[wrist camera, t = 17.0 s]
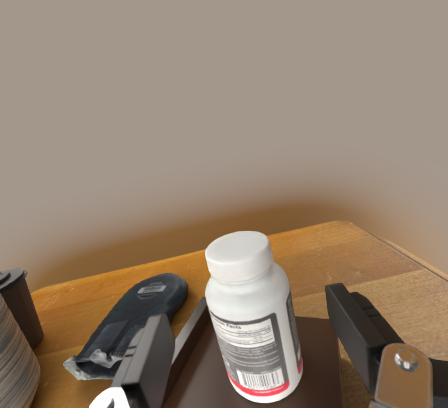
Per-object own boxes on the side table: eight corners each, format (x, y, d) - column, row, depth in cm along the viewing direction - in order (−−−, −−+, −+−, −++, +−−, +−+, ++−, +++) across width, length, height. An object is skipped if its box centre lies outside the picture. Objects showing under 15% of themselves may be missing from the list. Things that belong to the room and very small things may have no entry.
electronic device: (163, 390, 23) (197, 278, 37) (134, 353, 21) (181, 248, 35) (87, 397, 26) (145, 289, 39) (54, 365, 24) (127, 263, 37)
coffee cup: (-42, 385, 28) (-93, 313, 25) (11, 331, 36) (-23, 271, 33) (29, 367, 28) (-13, 294, 25) (67, 317, 36) (37, 257, 33)
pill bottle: (256, 326, 21) (233, 222, 19) (317, 356, 17) (299, 231, 15) (212, 376, 18) (176, 257, 15) (276, 427, 14) (242, 280, 11)
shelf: (340, 357, 21) (334, 304, 20) (354, 531, 12) (345, 461, 11) (215, 340, 26) (202, 296, 24) (161, 457, 17) (136, 401, 16)
